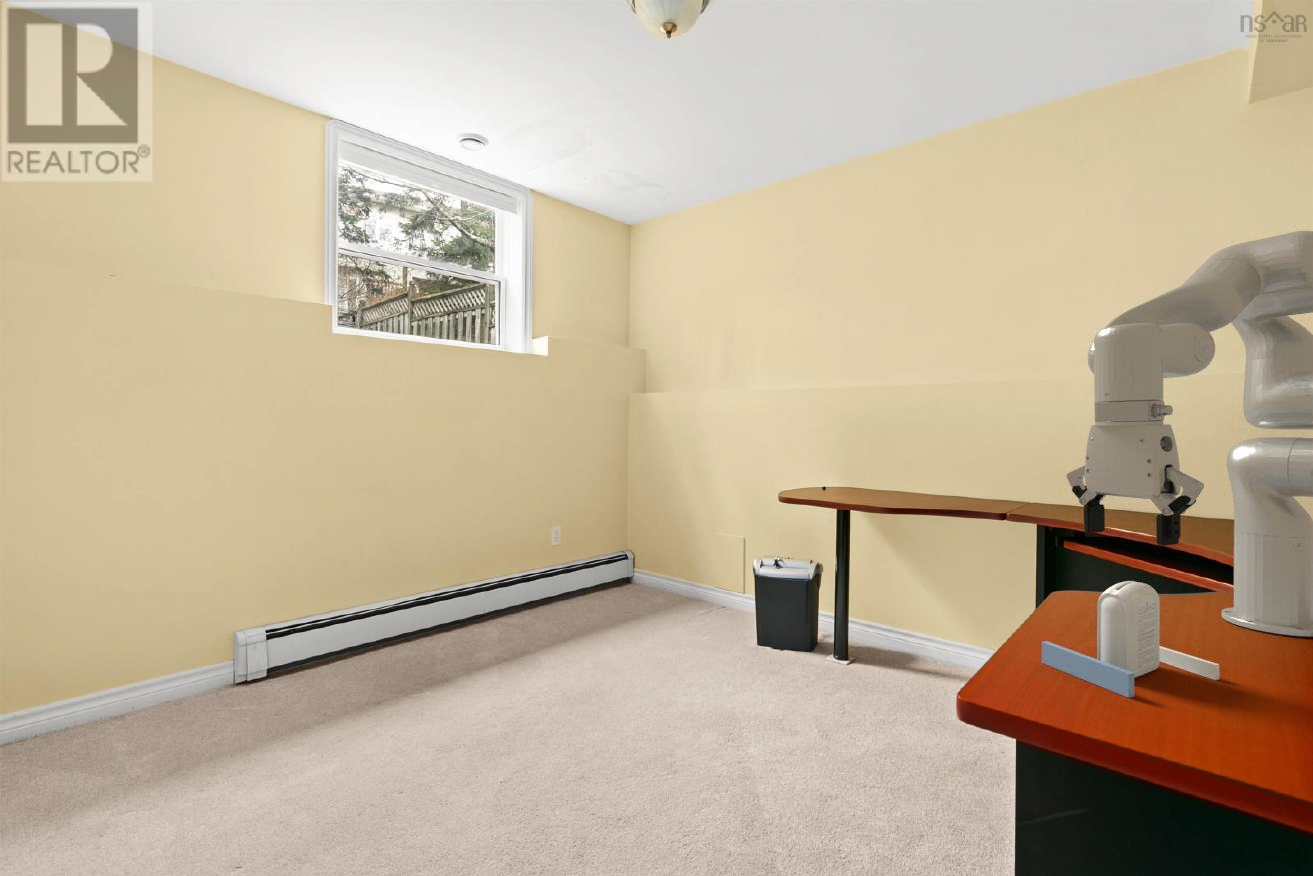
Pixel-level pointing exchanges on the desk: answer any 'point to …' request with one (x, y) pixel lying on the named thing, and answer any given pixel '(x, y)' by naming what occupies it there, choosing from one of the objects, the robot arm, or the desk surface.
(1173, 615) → the desk surface
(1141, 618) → the photo printer
